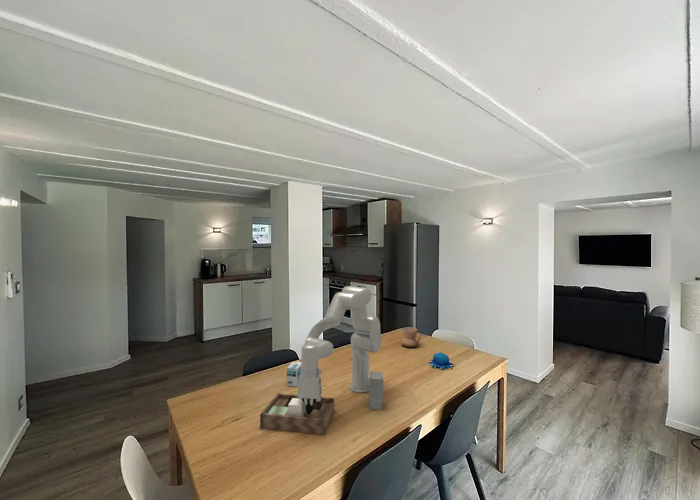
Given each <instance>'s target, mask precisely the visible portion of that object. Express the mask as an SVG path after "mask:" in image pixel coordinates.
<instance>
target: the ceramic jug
mask: <svg viewBox="0 0 700 500" xmlns="http://www.w3.org/2000/svg"><path fill="white" fill-rule="evenodd" d="M400 332H401V333H402V334H403V336H404V337H403V338H402V339H401V340H400V344H401V345H402V346H403V347H405V348H409V347H412V348H417V347H418V346H419V343H420V341H421V336H420V335H419V334H418V329H417V328H416V327H410V326H409V327H407V326H406V327H402V330H401V331H400ZM416 337H418V339H416Z"/></svg>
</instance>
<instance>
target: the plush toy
mask: <svg viewBox="0 0 700 500" xmlns="http://www.w3.org/2000/svg"><path fill="white" fill-rule="evenodd" d="M430 360H431V361H432V362H430V361H428V363H429V364H433V365H432V367H440V368H441V369H445V367H447V368H452V369H453V367H451V366H450V365H455V364H454V363H453V362H450V358H449V356H448V355H447V354H445V353H443V352H437V353H434V354H433V357H432V359H430ZM449 362H450V363H449ZM432 367H431V368H432ZM441 369H440V370H441ZM445 370H446V369H445Z"/></svg>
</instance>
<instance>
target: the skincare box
mask: <svg viewBox="0 0 700 500" xmlns="http://www.w3.org/2000/svg"><path fill="white" fill-rule="evenodd" d="M369 378H370V388H369V391H368V408H369V410H381V411H382V410H383V395H384V393H383V392H384V374H383V372H382V371H369Z"/></svg>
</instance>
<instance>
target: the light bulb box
mask: <svg viewBox="0 0 700 500" xmlns="http://www.w3.org/2000/svg"><path fill="white" fill-rule="evenodd" d="M301 367H302V361H296V360H295V361H294V360H293V361H291V363H289V365H288V366H287V367H286V386H287V387H294V388H298V384H299V378H300V374H301Z"/></svg>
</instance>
